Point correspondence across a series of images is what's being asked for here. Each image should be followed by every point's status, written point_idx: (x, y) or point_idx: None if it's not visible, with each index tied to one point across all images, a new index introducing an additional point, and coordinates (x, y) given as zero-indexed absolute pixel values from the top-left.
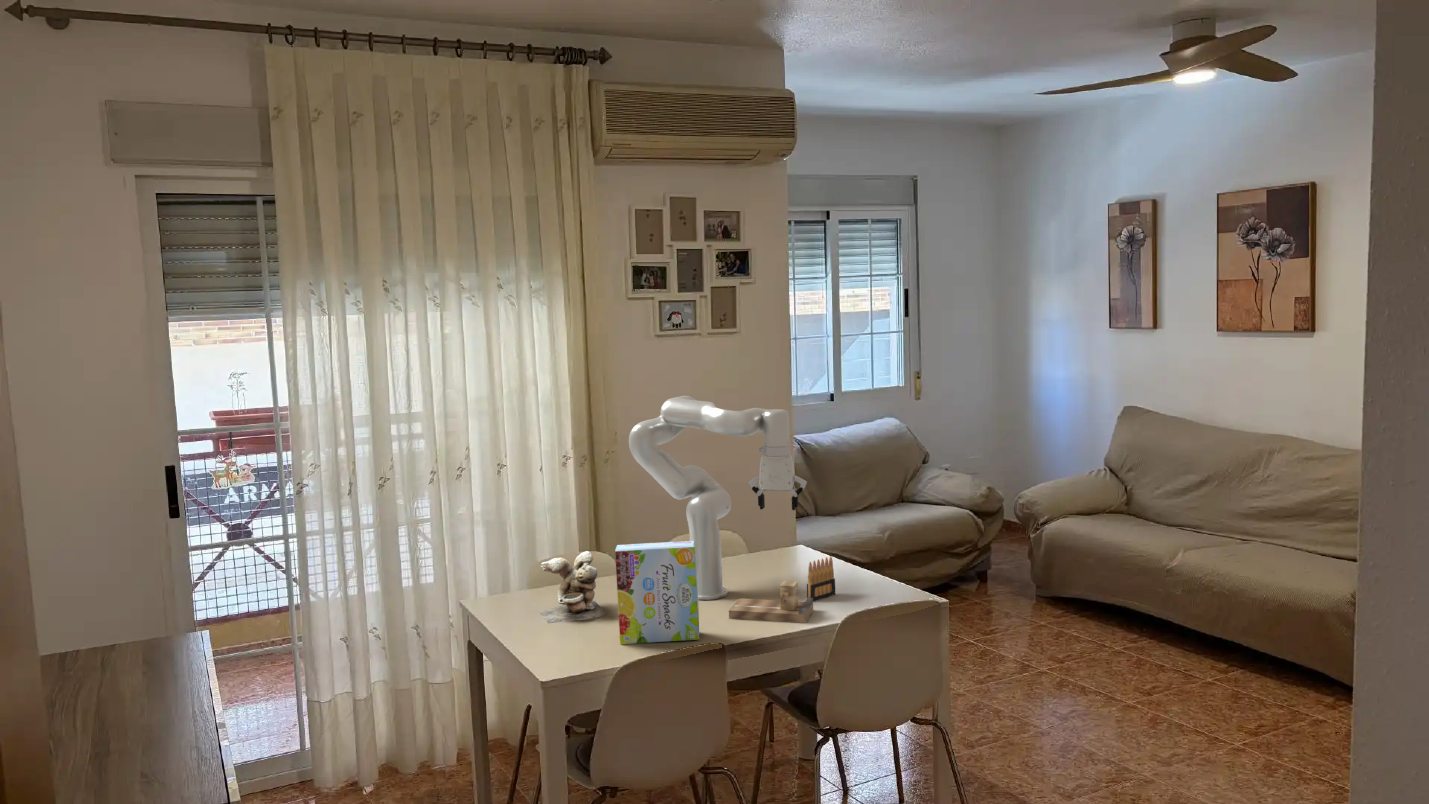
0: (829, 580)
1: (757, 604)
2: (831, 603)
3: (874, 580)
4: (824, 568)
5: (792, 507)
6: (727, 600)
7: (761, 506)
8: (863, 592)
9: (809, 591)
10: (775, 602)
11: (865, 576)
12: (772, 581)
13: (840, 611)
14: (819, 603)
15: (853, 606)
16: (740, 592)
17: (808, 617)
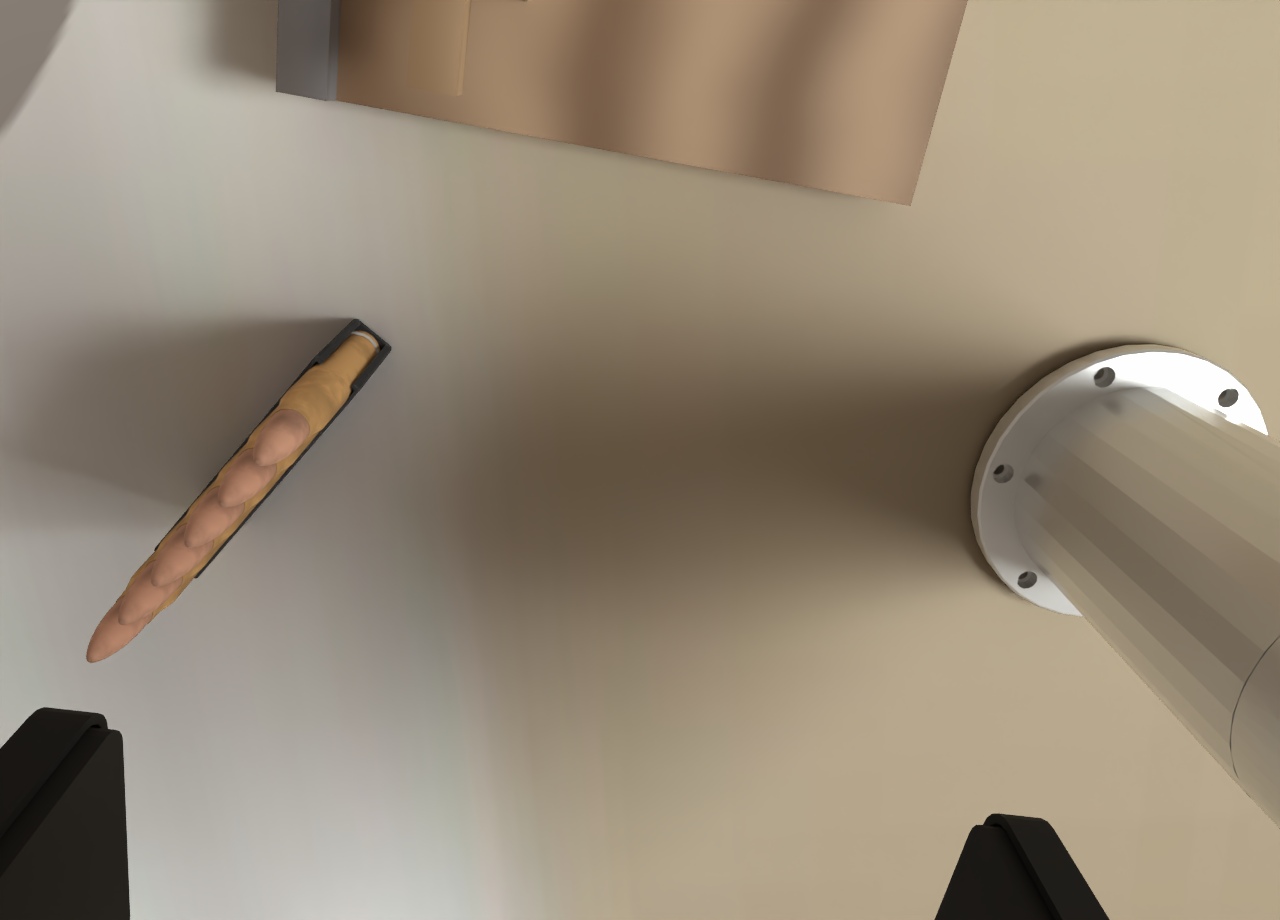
0: (190, 506)
1: (762, 18)
2: (195, 283)
3: None
4: (177, 528)
5: (54, 759)
6: (975, 350)
7: (1034, 867)
8: (14, 551)
9: (349, 351)
10: (610, 82)
11: None
12: (669, 764)
13: (80, 62)
14: (287, 282)
15: (6, 205)
16: (878, 536)
17: None
